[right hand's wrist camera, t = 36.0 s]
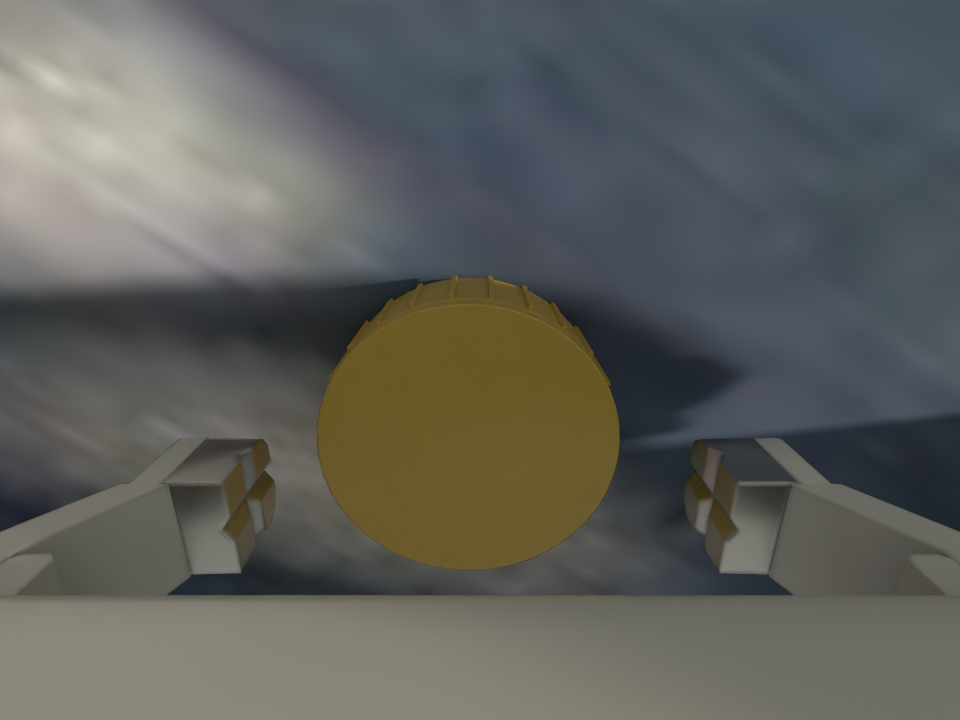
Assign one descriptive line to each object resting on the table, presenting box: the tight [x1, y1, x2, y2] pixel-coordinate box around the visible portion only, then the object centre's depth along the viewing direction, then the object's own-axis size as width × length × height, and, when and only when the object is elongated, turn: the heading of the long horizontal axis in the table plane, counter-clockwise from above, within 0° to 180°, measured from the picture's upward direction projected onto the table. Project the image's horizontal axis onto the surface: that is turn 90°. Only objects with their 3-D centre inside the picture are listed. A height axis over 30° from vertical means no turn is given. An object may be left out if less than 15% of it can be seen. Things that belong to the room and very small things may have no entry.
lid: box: [317, 275, 620, 570], centre depth 11 cm, size 6×6×2 cm
